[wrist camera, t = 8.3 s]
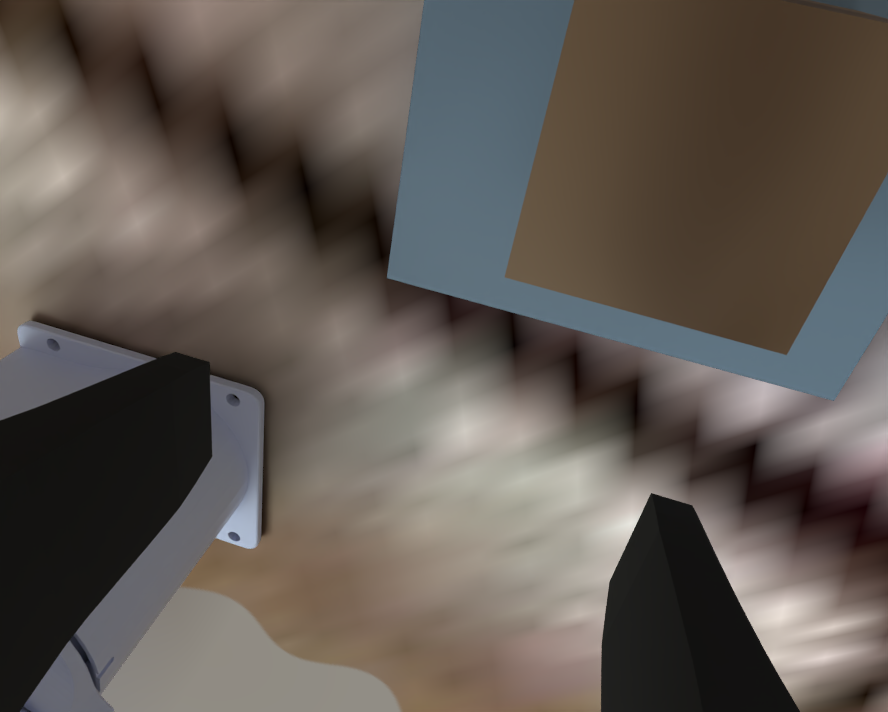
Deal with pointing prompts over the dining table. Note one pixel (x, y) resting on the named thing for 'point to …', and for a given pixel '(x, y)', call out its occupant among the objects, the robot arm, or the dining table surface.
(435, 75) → the slate board
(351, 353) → the dining table surface
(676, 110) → the walnut cube
